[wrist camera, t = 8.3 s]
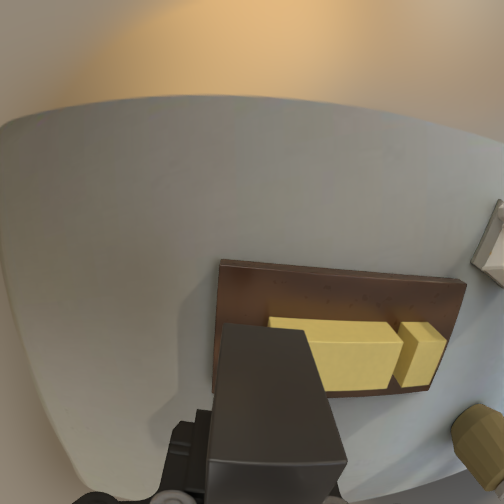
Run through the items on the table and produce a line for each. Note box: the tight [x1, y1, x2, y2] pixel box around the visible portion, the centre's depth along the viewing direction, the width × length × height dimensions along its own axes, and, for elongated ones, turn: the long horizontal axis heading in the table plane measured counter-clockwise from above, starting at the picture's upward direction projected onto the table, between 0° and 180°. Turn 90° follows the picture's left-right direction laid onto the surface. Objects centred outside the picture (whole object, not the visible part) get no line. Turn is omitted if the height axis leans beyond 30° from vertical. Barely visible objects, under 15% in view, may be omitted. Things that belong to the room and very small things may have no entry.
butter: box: [268, 317, 403, 391], centre depth 23 cm, size 4×10×4 cm, turn 84°
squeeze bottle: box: [451, 404, 504, 500], centre depth 22 cm, size 8×8×18 cm
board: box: [212, 259, 467, 398], centre depth 26 cm, size 12×22×2 cm, turn 84°
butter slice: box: [393, 322, 447, 387], centre depth 23 cm, size 4×3×4 cm, turn 174°
